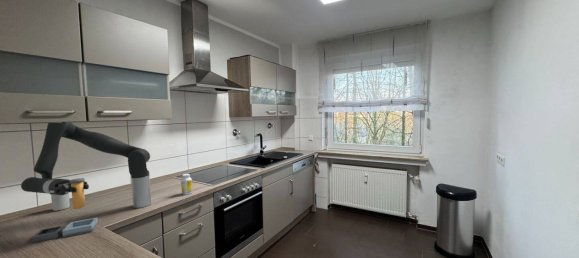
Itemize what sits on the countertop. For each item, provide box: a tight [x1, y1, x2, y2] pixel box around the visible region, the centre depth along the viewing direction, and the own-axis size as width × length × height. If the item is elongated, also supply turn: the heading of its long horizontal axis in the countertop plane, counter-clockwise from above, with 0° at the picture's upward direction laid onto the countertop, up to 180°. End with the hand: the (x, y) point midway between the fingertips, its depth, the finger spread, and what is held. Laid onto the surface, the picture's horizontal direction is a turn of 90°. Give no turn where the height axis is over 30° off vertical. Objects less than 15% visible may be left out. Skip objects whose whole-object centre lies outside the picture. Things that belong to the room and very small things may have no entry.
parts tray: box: [62, 217, 99, 238], centre depth 110 cm, size 10×10×3 cm
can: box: [50, 192, 71, 212], centre depth 140 cm, size 8×8×12 cm
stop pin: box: [68, 177, 86, 210], centre depth 109 cm, size 5×5×13 cm
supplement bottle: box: [180, 173, 193, 196], centre depth 160 cm, size 7×7×13 cm
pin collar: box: [31, 224, 66, 243], centre depth 105 cm, size 8×8×2 cm
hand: (81, 188), depth 108 cm, fingers closed on stop pin, 4 cm apart
